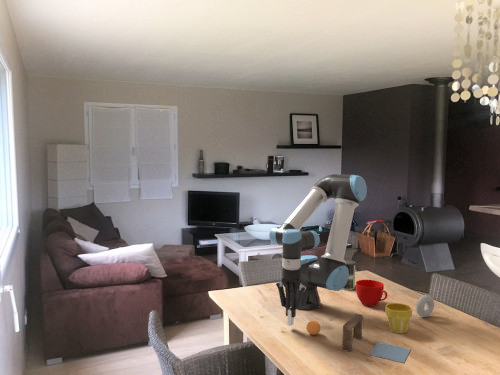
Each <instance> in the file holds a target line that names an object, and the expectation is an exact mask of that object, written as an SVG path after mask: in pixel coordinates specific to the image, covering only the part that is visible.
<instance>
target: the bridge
mask: <svg viewBox="0 0 500 375" xmlns="http://www.w3.org/2000/svg"><path fill="white" fill-rule="evenodd" d="M363 315H364V314H362V313H354V314H353V315H352V316H351V317H350V318H349V319H348V320H347V321H346V322H345V323H344V324H343V326H342V351H345V352H352V351H353V339H358V340H362V338H363V321H364V320H363V317H364V316H363Z"/></svg>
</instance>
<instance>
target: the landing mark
mask: <svg viewBox="0 0 500 375" xmlns="http://www.w3.org/2000/svg"><path fill="white" fill-rule="evenodd" d="M411 350H412V349H411V348H407V347H403V346H399V345H394V344H390V343H384V342H380V341H378V342H376V344H375V345H374V347H373V348H372V350H371V351H370V353H369V356H373V357H377V358H381V359H386V360H389V361H390V360H391V361H393V362H397V363H402V364H405V362H406V360H407V358H408V356H409V354H410V352H411Z"/></svg>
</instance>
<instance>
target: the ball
mask: <svg viewBox="0 0 500 375" xmlns="http://www.w3.org/2000/svg"><path fill="white" fill-rule="evenodd" d="M306 331H307V333H308V334H310V335H312V336H315V335H316V336H317V335H318V334H319V333H320V331H321V324H320V323H319V322H318V321H316V320H313V319H312V320H310V321H309V322H308V323H307V324H306Z"/></svg>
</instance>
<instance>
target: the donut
mask: <svg viewBox="0 0 500 375" xmlns="http://www.w3.org/2000/svg"><path fill="white" fill-rule="evenodd" d="M434 308H435V301H434V298H433V297H432V296H431V295H429V294H422V295H421V296H420V297H419V298H418V300H417V302H416V306H415V310H416V313H417V314H418V315H419V316H420V317H421V318H428V317H429V316H431V314H432V313H433V312H434Z"/></svg>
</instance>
